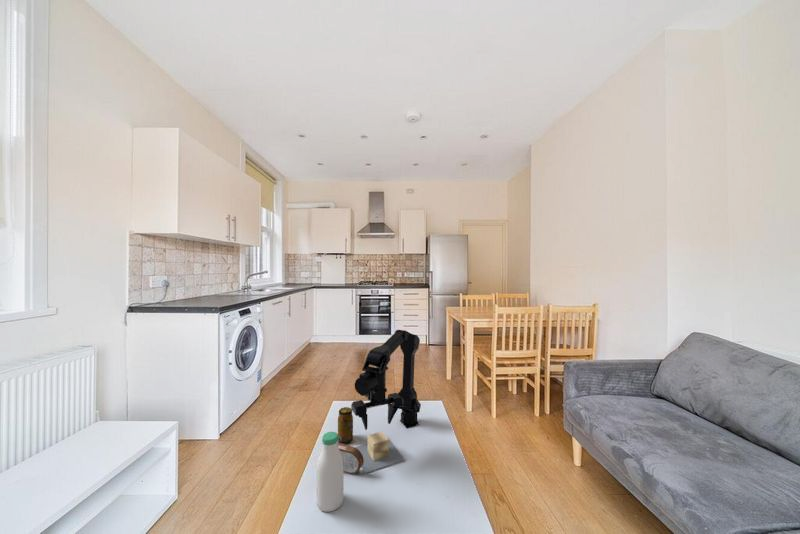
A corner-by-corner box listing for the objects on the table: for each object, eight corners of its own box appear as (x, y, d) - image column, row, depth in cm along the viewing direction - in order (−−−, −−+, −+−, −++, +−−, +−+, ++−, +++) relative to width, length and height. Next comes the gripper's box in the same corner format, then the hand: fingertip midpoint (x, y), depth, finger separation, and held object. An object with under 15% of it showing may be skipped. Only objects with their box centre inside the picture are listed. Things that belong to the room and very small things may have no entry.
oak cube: (382, 446, 114) (382, 431, 114) (388, 455, 109) (388, 439, 109) (367, 451, 111) (367, 435, 111) (373, 460, 106) (373, 444, 106)
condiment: (348, 432, 125) (348, 404, 125) (359, 441, 118) (359, 412, 118) (332, 439, 120) (332, 409, 120) (343, 449, 114) (343, 418, 113)
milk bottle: (348, 501, 88) (348, 435, 88) (326, 517, 83) (326, 446, 83) (333, 488, 94) (333, 425, 93) (311, 502, 88) (311, 435, 88)
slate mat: (387, 438, 120) (387, 437, 120) (405, 460, 107) (405, 459, 107) (352, 448, 114) (352, 447, 114) (365, 473, 100) (365, 472, 100)
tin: (364, 471, 101) (364, 447, 101) (359, 478, 98) (359, 453, 98) (326, 462, 106) (325, 438, 106) (320, 467, 103) (320, 443, 103)
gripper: (391, 373, 121) (391, 411, 121) (347, 381, 113) (346, 422, 113) (404, 383, 111) (403, 424, 111) (356, 392, 103) (356, 437, 103)
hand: (377, 426), depth 110 cm, fingers open, 9 cm apart
